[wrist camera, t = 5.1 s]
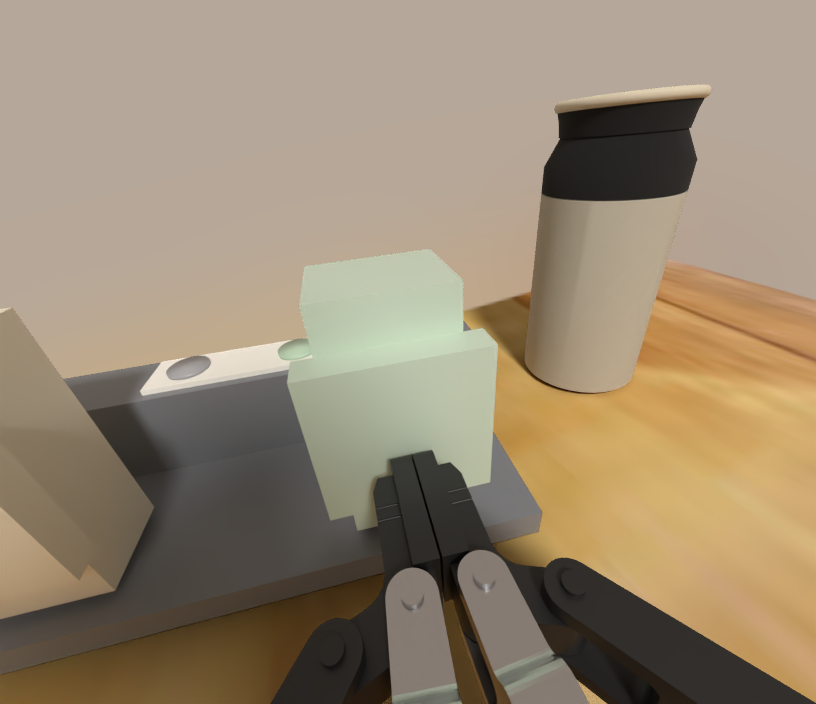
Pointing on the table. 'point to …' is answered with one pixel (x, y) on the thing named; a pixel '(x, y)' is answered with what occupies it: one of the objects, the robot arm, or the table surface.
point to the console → (222, 503)
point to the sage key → (390, 376)
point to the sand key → (57, 487)
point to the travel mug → (607, 231)
